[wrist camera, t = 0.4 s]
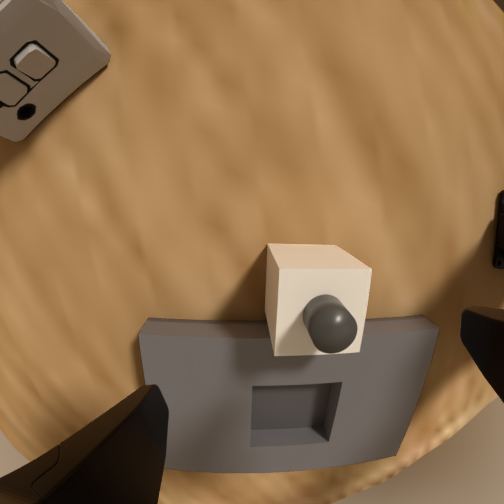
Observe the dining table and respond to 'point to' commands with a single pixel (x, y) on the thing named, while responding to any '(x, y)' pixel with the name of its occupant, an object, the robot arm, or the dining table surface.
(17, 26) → the electrical switch
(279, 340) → the plug
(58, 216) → the dining table surface
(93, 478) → the robot arm
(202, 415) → the socket plate
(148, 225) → the dining table surface
